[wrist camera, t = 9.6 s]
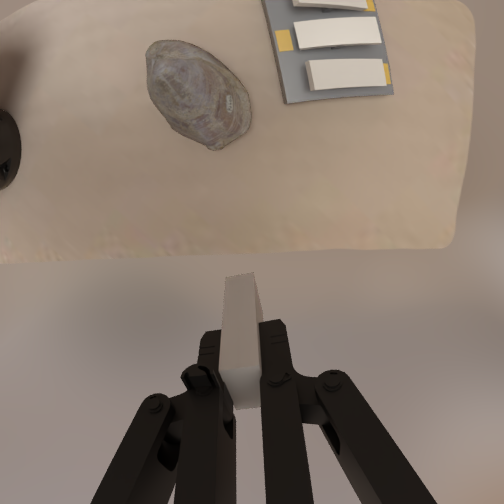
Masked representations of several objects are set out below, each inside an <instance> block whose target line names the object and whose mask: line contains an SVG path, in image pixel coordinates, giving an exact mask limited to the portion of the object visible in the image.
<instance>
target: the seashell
mask: <svg viewBox="0 0 504 504" xmlns="http://www.w3.org/2000/svg"><path fill="white" fill-rule="evenodd" d="M146 63H147V88H148V92H149V95H150V98H151V100H152V101H153V103H154V105H155V106H156V107H157V109H158V110H159V111H160V112H161V114H162V115H163V116H164V117H165V118H166V120H167V122H168V123H169V124H170V126H171V128H172V129H173V130H175V131H176V132H178V133H180V134H181V135H183V136H185V137H187V138H190V139H192V140H195V141H197V142H199V143H201V144H203V145H206V147H207V148H208V149H211V150H218V149H222V148H223V147H224V146H225V145H227V144H228V143H230V142H231V141H233V140H235V139H236V138H238V137H239V136H241V135H242V134H244V133H245V132H247V130H248V128H249V126H250V122H251V111H250V102H249V97H248V93H247V91H246V89H245V88H244V87H243V85H242V84H241V82H240V81H239V80H238V78H237V77H236V76H235V75H234V74H233V73H232V72H231V71H230V70H229V69H228V68H227V67H226V66H225V65H224V64H223V63H221V62H220V61H219V60H218V59H216V58H215V57H214V56H213V55H211V54H210V53H208V52H207V51H205V50H203V49H201V48H199V47H197V46H195V45H193V44H190V43H186V42H184V41H179V40H161V41H156V42H154V43H153V44H152V45H151V46H150V47H149V48H148V50H147V51H146Z"/></svg>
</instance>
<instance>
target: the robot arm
mask: <svg viewBox="0 0 504 504" xmlns="http://www.w3.org/2000/svg"><path fill="white" fill-rule="evenodd" d="M20 156H21V142H20V135H19V131H18V128H17V125H16V123H15V121H14V120H13V118H12V117H11V116H10V115H9V114H8V113H7V112H6V111H4V110H1V109H0V190H1V189H3V188H5V187H7V186H8V185H9V184H10V183H11V182H12V180H13V179H14V177H15V175H16V173H17V170H18V167H19V163H20ZM199 348H200V349H199V356H198V361H197V364H194V365H191V366H189V367H188V368H186V369H185V370H184V371H183V372H182V375H181V379H182V381H183V383H184V385H185V386H186V388H187V391H186V392H184V393H182V394H180V395H177V396H174V397H171V398H168V397H167V396H166V395H164V394H161V393H157V394H153V395H150V396H148V397H147V398H146V399H145V400H144V401H143V402H142V404H141V406H140V407H139V409H138V411H137V413H136V415H135V417H134V419H133V421H132V423H131V425H130V426H129V428H128V430H127V432H126V434H125V436H124V438H123V440H122V442H121V444H120V446H119V448H118V450H117V452H116V454H115V456H114V458H113V459H112V461H111V463H110V466H109V467H108V469H107V472H106V473H105V475H104V477H103V480H102V481H101V483H100V485H99V487H98V489H97V491H96V493H95V495H94V497H93V499H92V502H91V504H168V501H169V498H170V496H171V493H172V491H173V488H174V485H175V483H176V486H175V497H174V504H236V419H235V416H234V414H233V405H234V407H235V409H236V410H240V409H249V408H257V407H261V417H262V436H263V453H264V471H265V487H266V488H265V490H266V504H314V501H313V493H312V486H311V480H310V472H309V465H308V459H307V452H306V445H305V439H304V433H303V426H302V423H307V424H318V425H319V426H320V428H321V430H322V432H323V434H324V436H325V438H326V439H327V441H328V443H329V445H330V447H331V449H332V450H333V452H334V454H335V456H336V458H337V460H338V461H339V463H340V465H341V467H342V469H343V471H344V472H345V474H346V476H347V478H348V480H349V481H350V483H351V485H352V487H353V489H354V491H355V492H356V494H357V496H358V498H359V500H360V501H361V503H362V504H437V503H436V501H435V500H434V498H433V497H432V495H431V494H430V493H429V491H428V489H427V488H426V487H425V485H424V484H423V482H422V481H421V479H420V478H419V476H418V475H417V473H416V472H415V471H414V469H413V468H412V466H411V465H410V463H409V462H408V460H407V459H406V458H405V456H404V455H403V453H402V452H401V450H400V449H399V447H398V446H397V445H396V443H395V442H394V440H393V439H392V437H391V436H390V435H389V433H388V432H387V430H386V429H385V427H384V426H383V425H382V423H381V422H380V420H379V419H378V418H377V416H376V414H375V413H374V412H373V410H372V409H371V407H370V406H369V404H368V403H367V402H366V400H365V399H364V397H363V396H362V394H361V393H360V392H359V390H358V389H357V387H356V386H355V385H354V383H353V382H352V380H351V379H350V377H349V376H348V375H347V374H346V373H345V372H342V371H340V370H329V371H325V372H323V373H322V374H320V375H319V376H318V377H307V376H303V375H301V374H299V373H297V372H296V371H295V370H294V368H293V365H292V359H291V353H290V348H289V342H288V337H287V331H286V325H285V324H284V323H283V322H282V321H281V320H280V319H277V320H271V321H266V322H263V312H262V307H261V303H260V299H259V295H258V290H257V286H256V282H255V277H254V274H253V273H247V274H242V275H236V276H231V277H226V281H225V293H224V305H223V317H222V329H221V330H214V331H207V332H206V333H205V334H204V335H203V337H202V338H201V341H200V347H199Z"/></svg>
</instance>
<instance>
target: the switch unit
mask: <svg viewBox="0 0 504 504" xmlns="http://www.w3.org/2000/svg"><path fill="white" fill-rule="evenodd" d="M261 1H262V5H263V9H264V13H265V17H266V21H267V25H268V29H269V34H270V38H271V42H272V47H273V51H274V56H275V60H276V65H277V70H278V74H279V79H280V84H281V89H282V94H283V99H284V104H288V103H295V102H302V101H311V100H319V99H329V98H340V97H353V96H369V95H394V92H393V85H392V79H391V73H390V67H389V62H388V57H387V52H386V47H385V42H384V38H383V34H382V29H381V25H380V21H379V17H378V13H377V10H376V6H375V3H374V0H366V2H367V6H368V9H366V10H363V11H357V10H348V9H338V8H331V9H329V8H325V7H301V6H294V5H293V1H292V0H261ZM344 17H376V21H377V24H378V29H379V33H380V37H381V42H382V43H381V44H380V45H353V46H342V47H325V48H315V49H307V50H300V48H299V44H298V39H297V35H296V31H295V27H294V22H300V21H308V20H318V19H329V18H344ZM325 59H382V61H383V66H384V72H385V78H386V84H387V86H370V87H350V88H335V89H323V90H313V91H310V85H309V80H308V75H307V70H306V65H305V62H307V61H309V60H325Z"/></svg>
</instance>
